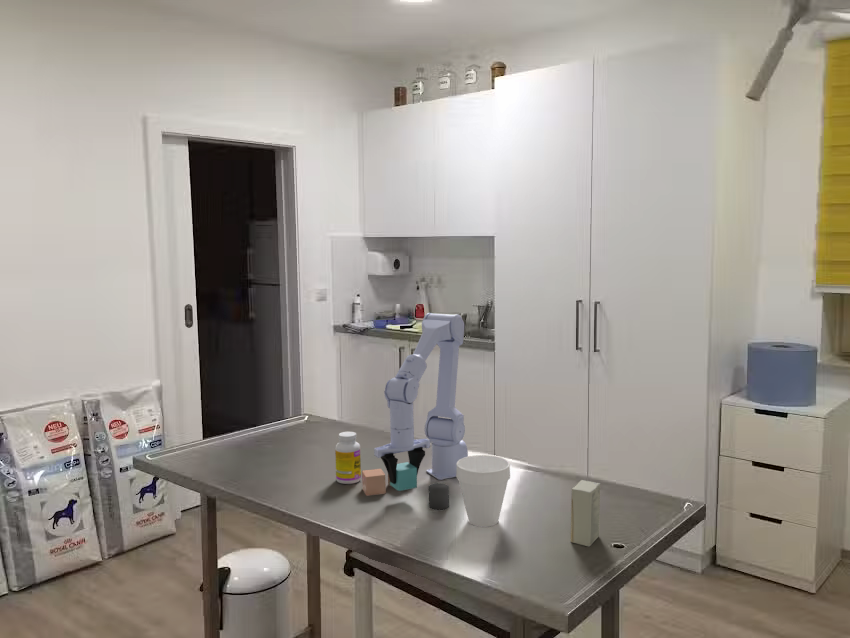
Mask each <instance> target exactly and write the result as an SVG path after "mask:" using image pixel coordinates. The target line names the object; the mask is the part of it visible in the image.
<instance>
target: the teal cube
mask: <svg viewBox="0 0 850 638" xmlns="http://www.w3.org/2000/svg"><path fill="white" fill-rule="evenodd" d="M390 485H391V486H390V487H392V488H393V489H395V490H396V491H398V492H401V491H405V490H406V491H407V490H410V489H416V488H418V474H417V468H416V467H415V466H413V465H411V464H410V463H409V461H407V462H406V461H405V462H400V463H397V468H396V484H393V483H391V482H390Z"/></svg>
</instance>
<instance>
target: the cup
mask: <svg viewBox="0 0 850 638" xmlns="http://www.w3.org/2000/svg"><path fill="white" fill-rule="evenodd" d="M456 465H457V470H456V477H455V478H456V479H457V480H458V482H459V489H460V492H461V496H462V500H463V503H464V508H465V511H466V516H467V520H468V523H469V524H470V525H472V526H476V527H478V528H479V527H482V528H488V527H493V526H496V525H497V524H498V523H499V520H500V517H501V516H500V515H501V512H502V508H503V503H504V500H505V499H504V498H505V494H506V491H507V487H508V486H507V485H508V482H509V480H510V479H511V463H510V461H509V460H507V459H505V458H503V457H501V456H500V457H499V456H497V455H496V456H495V455H489V454H486V455H485V454H480V455H478V454H477V455H469V456H468V457H464V458H462V459H460V460H459V461H457V464H456Z"/></svg>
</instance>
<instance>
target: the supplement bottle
mask: <svg viewBox="0 0 850 638" xmlns="http://www.w3.org/2000/svg"><path fill="white" fill-rule="evenodd" d="M356 440H357V432H354V431H342V432H340V433H338V441H339V442H337V444H336V445H335V448H334V449H335V450H334V451H335V480H336V482H337V483H338V484H344V485H353V484H356V483H358V482H360V481H361V480H362V464H361V462H362V461H361V460H362V459H361V444H360V443H359V442H357V441H356Z"/></svg>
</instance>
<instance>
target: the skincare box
mask: <svg viewBox="0 0 850 638" xmlns="http://www.w3.org/2000/svg"><path fill="white" fill-rule="evenodd" d="M570 500H571V503H570V506H571V508H570V515H571V516H570V543H573V544H577V545H581V546H584V547H585V546H586V547H590V546H592V544H593V543H594V542H595V541H596V540H598V538H599V536H600V515H601V514H600V507H601V505H600V504H601V482H597V481H596V482H595V481H590V480H585V479H581V480H579V481H578V482H577V483H576V484H575V485H574V486H573V487H572V488H571V499H570Z"/></svg>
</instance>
